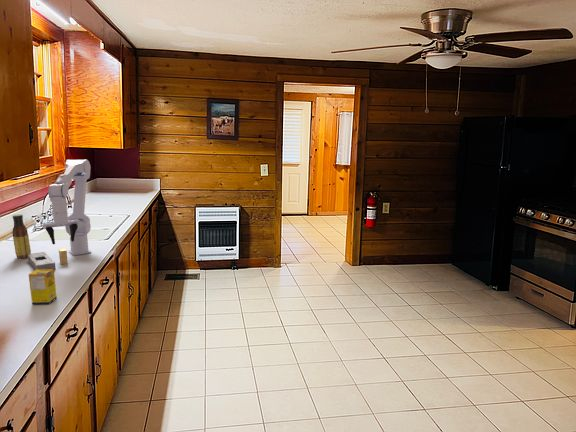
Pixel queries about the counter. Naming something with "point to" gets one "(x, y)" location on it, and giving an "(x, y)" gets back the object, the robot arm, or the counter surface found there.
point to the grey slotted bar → (41, 261)
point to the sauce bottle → (20, 237)
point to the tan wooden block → (63, 256)
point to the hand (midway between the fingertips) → (63, 242)
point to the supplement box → (42, 286)
